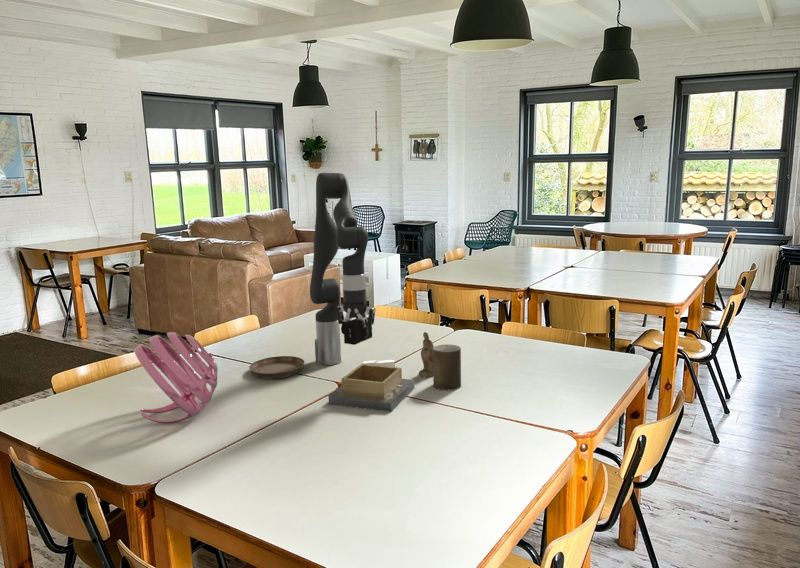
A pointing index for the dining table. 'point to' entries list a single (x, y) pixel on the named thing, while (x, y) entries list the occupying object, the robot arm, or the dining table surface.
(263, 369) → the plant saucer
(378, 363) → the white offset rectangular block
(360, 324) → the digital camera
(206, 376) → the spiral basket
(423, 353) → the worn brown figurine
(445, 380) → the pillar candle
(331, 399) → the square wooden box
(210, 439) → the dining table surface
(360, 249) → the robot arm
